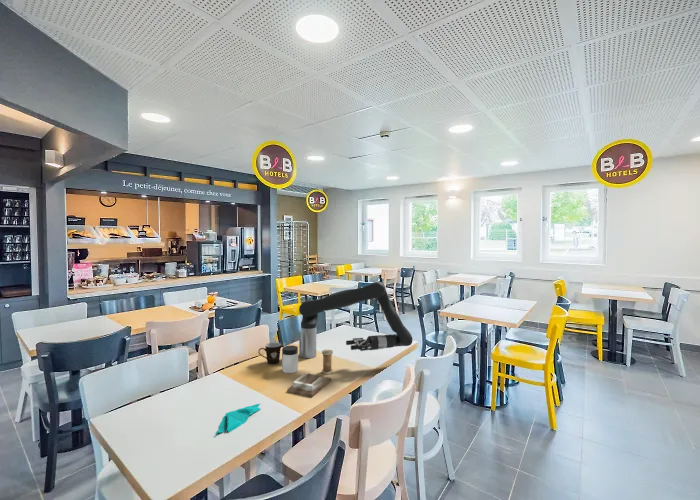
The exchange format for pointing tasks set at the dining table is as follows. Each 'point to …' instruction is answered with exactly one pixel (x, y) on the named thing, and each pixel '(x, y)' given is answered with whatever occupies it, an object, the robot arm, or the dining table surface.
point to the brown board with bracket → (308, 384)
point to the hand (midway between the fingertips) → (348, 345)
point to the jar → (289, 359)
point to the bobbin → (327, 361)
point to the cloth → (236, 418)
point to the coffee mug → (272, 352)
